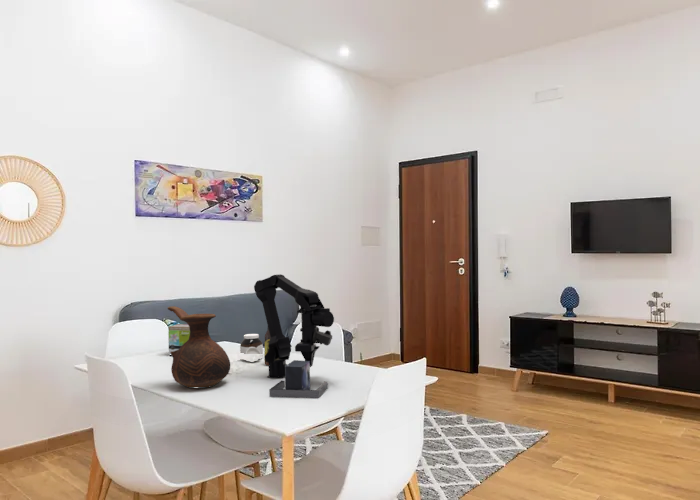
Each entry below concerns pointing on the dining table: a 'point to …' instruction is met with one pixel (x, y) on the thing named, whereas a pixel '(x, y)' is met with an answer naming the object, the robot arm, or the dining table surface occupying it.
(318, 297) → the robot arm
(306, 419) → the dining table surface
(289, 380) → the small box
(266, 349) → the sauce bottle
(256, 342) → the spread jar
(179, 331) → the tea box
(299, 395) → the guide rails
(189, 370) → the jug
